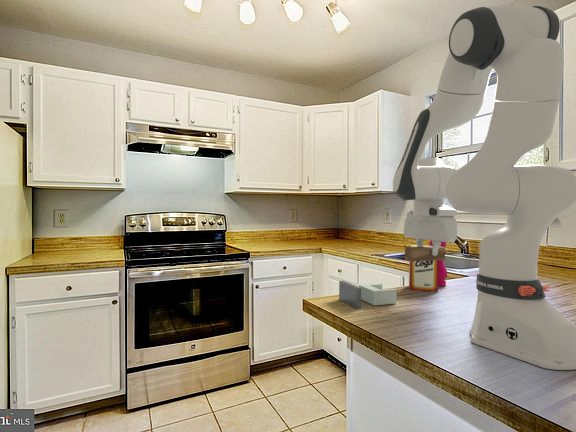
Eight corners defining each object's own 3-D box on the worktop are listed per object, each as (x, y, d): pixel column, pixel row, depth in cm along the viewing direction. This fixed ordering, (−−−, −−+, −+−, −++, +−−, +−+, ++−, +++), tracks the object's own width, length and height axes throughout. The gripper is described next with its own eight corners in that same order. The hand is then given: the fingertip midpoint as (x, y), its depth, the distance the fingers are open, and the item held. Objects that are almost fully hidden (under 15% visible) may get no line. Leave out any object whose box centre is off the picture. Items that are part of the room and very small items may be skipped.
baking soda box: (435, 288, 128) (436, 245, 128) (438, 292, 122) (438, 247, 122) (408, 286, 131) (409, 244, 131) (409, 290, 125) (410, 245, 124)
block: (396, 303, 106) (396, 289, 106) (373, 305, 103) (374, 291, 103) (380, 296, 114) (380, 283, 114) (358, 298, 112) (358, 285, 111)
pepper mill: (430, 282, 138) (431, 232, 138) (449, 284, 134) (450, 233, 134) (424, 285, 133) (425, 233, 133) (444, 288, 128) (445, 234, 128)
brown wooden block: (444, 259, 109) (445, 247, 109) (413, 261, 105) (413, 248, 105) (435, 258, 113) (435, 245, 112) (404, 259, 109) (404, 247, 109)
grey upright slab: (361, 308, 101) (361, 288, 100) (356, 308, 100) (356, 288, 100) (343, 299, 111) (343, 280, 111) (339, 299, 110) (339, 280, 110)
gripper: (399, 210, 118) (398, 250, 118) (443, 210, 98) (443, 258, 99) (414, 210, 120) (414, 250, 120) (461, 210, 100) (460, 258, 100)
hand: (427, 254), depth 109 cm, fingers closed on brown wooden block, 4 cm apart
